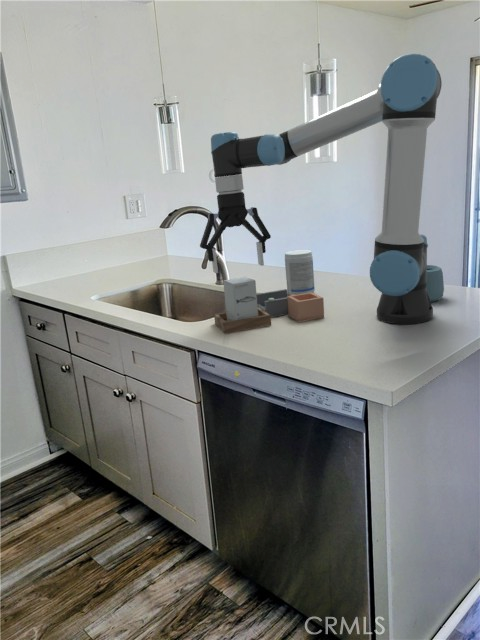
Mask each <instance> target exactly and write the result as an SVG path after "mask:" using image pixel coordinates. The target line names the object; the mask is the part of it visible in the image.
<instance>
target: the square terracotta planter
mask: <svg viewBox="0 0 480 640" xmlns="http://www.w3.org/2000/svg"><path fill="white" fill-rule="evenodd" d="M287 298H288V313H289V314H288V316H289V317H290V318H292V319H294V320H295V321H297V322H298V323H301V322H307V321H313V320H318V319H322V318H325V304H324V297H323V296H321V295H318V294H317V293H314V292H313V293H312V292H310V293H304V294H298V295H292V296H290V295H288V296H287Z"/></svg>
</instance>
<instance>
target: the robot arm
mask: <svg viewBox="0 0 480 640" xmlns="http://www.w3.org/2000/svg"><path fill="white" fill-rule="evenodd" d="M442 85H443V84H442V77H441V73H440V71H439V70H438V68H437V66H436V64H435V63H434V62H433V60H432V59H430V58H429V57H428V56H426V55H423V54H420V53H407V54H403V55H400V56H399V57H397V58H395V59H394V60H393V61H391V62H390V63H389V65H387V67H386V69H385V70H384V72H383V74H382V77H381V80H380V83H379V85H378V87H377V88H376V90H374V91H371V92H370V93H368V94H366V95H363V96H362V97H361V96H360V97H359V98H356V99H354V100H352V101H350V102H346V103H345V104H343V105H341V106H339V107H336V108H334V109H333V110H330V111H327V112H325V113H324V114H321V115H319V116H316V117H314V118H312V119H310V120H308V121H306V122H303V123H301V124H299V125H297V126H295V127H293V128H290V129H288V130H286V131H284V132H282V133H279V134H277V133H276V134H274V133H273V134H272V133H270V134H267V133H266V134H264V135H257V136H253V137H245V138H239V135H238V133H237V131H227V132H226V131H225V132H220V133H215V134H213V135H211V137H210V146H211V147H210V150H211V151H210V153H211V154H210V155H211V158H212V164H213V171H214V172H213V173H214V181H215V192H216V193H218V194H217V195H216V200H217V207H218V209H217V210H218V211H217V213H213V212H209V213H207V223H206V225H205V229H204V231H203V235H202V238H201V241H200V243H199V247H200V248H201V249H202V250H203V249H204V250H206V251H207V252H206V253H207V259H208V261H209V262H211V263H212V264H211V265H212V271H213V273H215V274H218V273H219V267H218V261H217V260H218V259H217V253H216V251H217V250H216V249H215V248H214V247H215V245H216V244H217V242H218V241H219V239H220V237H221V236H222V234H223V232H224V231H225V230H226V229H227V228H233V227H240V226H243V227H244V228H245V229H247V231H248V232H249V233H250V234H251V235H253V237H254V238H256V240H258V241H256V242H255V244H256V252H257V255H256V256H257V264H258V265H259V266H265V263H264V254H266V251H267V249H266V241H267V240H269V239H271V238H272V235H271V234H270V232H269V231H268V229H267V227H266V226H265V224H264V222H263V220H262V219H261V217H260V216H259V212H258V209H257V207H255V206H254V207H249V208H247V207H246V200H245V193H244V192H243V190H244V189H245V188H244V179H243V170H242V169H247V168H259V167H266V166H267V167H270V166H275V165H279V166H281V165H284V164H285V165H286V164H287V163H289V162H290V161H291V160H293V159H295V158H298V157H299V156H302V155H305V154H308V153H309V152H312V151H314V150H317V149H319V148H322V147H323V146H326V145H328V144H330V143H333V142H336V141H339V140H340V139H343V138H345V137H348V136H350V135H352V134H355V133H357V132H359V131H362V130H365V129H367V128H369V127H372V126H374V125H377V124H378V123H382V124H383V125H384V126H385V127H387V128H386V129H387V131H388V132H387V142H386V143H387V145H386V160H385V161H386V163H385V176H384V177H385V178H384V188H383V189H384V191H383V205H382V206H383V207H382V208H383V209H382V223H381V232H380V233H379V234H378V235H377V236H376V237H375V238H374V246H373V247H374V248H373V250H374V251H373V259H372V261H371V264H370V267H369V277H370V282H371V283H372V285H373V287H374V288H376V290H377V291H379V292H380V293H381V295H380V298H379V300H378V304H377V307H376V318H377V319H378V320H380V322H381V321H382V322H384V323H388V324H397V325H412V324H413V325H414V324H421V323H425V322H428V321H431V320H432V319H433V318H434V307H433V305H432V302H431V301H430V298H429V295H428V292H427V265H428V248H429V244H428V239H427V235H425V234H420V233H419V228H420V218H421V217H420V215H421V206H422V205H421V204H422V194H423V193H422V192H423V191H422V190H423V181H424V169H425V158H426V146H427V135H428V128H429V127H430V126H431V125H432V123H433V122H434V121H435V120H436V115H437V114H436V112H437V101H438V98H439V97H440V93H441V90H442ZM248 215H249V216H250V217H252V219H253V221H254V222H255V224H256V226H257V227H258V230H259V231H260V232H261V233H260V232H259V231H258V230H257V229H256V228H255V227H253V225H252V224H250V222H249V221H248V220H247V219H246V218H247V216H248ZM217 219H218V220H219V221H220V223H219V225H218V226H217V229H216V230H215V232H214V234H213V235H212V236H211V233H212V230H213V227H214V224H215V222H216V221H217ZM210 237H211V238H210Z"/></svg>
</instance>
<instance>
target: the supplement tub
mask: <svg viewBox="0 0 480 640" xmlns="http://www.w3.org/2000/svg"><path fill="white" fill-rule="evenodd" d="M284 265H285V268H284V269H285V279H286V290H287V295H288V296H290V295H292V294H295V295H298V294H304V293H310V292H312V293H314V292H315V291H316V290H315V273H314V258H313V251H312V250H310V249H295V250H289V251H286V252H285V253H284Z"/></svg>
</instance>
